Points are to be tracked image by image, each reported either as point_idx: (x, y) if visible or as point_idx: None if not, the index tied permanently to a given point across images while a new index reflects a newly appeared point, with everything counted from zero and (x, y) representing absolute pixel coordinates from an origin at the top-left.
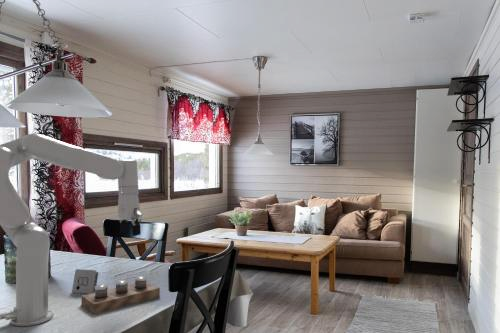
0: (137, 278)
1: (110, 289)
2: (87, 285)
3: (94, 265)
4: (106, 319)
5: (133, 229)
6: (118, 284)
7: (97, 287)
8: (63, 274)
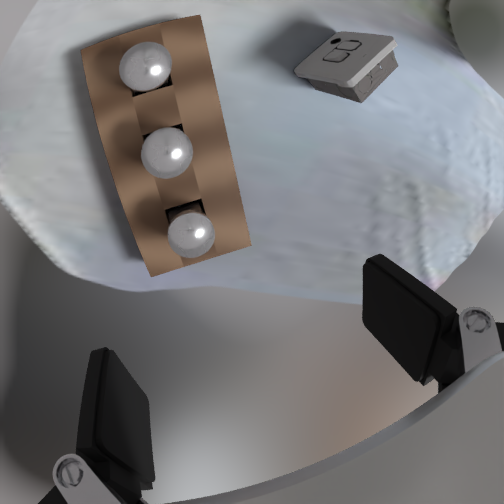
0: (180, 221)
1: (218, 113)
2: (320, 60)
3: (484, 166)
4: (33, 93)
5: (86, 408)
6: (148, 136)
7: (130, 50)
8: (469, 85)
